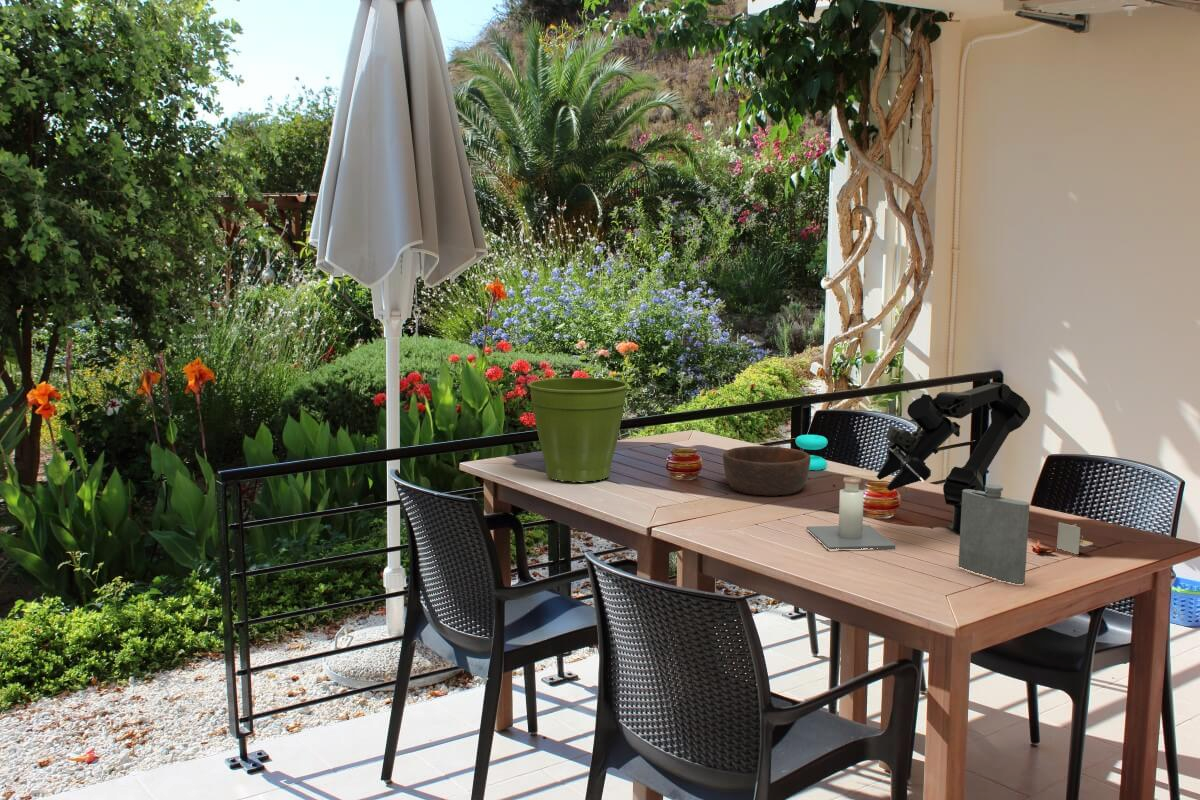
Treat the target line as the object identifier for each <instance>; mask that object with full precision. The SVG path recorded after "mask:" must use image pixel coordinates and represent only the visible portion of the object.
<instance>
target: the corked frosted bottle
mask: <svg viewBox="0 0 1200 800" xmlns="http://www.w3.org/2000/svg"><path fill="white" fill-rule="evenodd" d="M842 480H843V484H844V488H842V489H839V505H838V526H839V530H838V535H839V536H840V537H842V538H847V539H858V538H861V537H862V526H863V525H864V523H863V520H864V494H865V491H864V490H862V489H859V485H860V484H861V482H862V481H861V478H860V477H854V476H844V478H843V479H842Z"/></svg>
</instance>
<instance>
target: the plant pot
mask: <svg viewBox="0 0 1200 800" xmlns="http://www.w3.org/2000/svg"><path fill="white" fill-rule="evenodd" d="M628 386H629V384H628V382H625V381H622V380H618V379H610V378H599V377H558V378H547V379H546V378H545V379H544V378H543V379H539V380H533V381H530V382H528V387H529V388H530V395H531V396H530V397H531V403H532V409H533V415H534V420H535V426H536V431H537V436H538V439H539V440H538V441H539V445H540V449H541V453H542V457H543V460H544V464H545V470H546V471H545V472H546V476H547V478H549V477H550V478H549V479H551V478H553V479H557V480H563V481H574V482H573V483H576V482H579V481H594V482H597V481H596V480H600V481H603V480H606V479H607V478H608V477H609V476H610V474H611V465H612V461H613V458H614V454H615V450H616V448H617V443H618V439H619V434H620V430H621V429H620V428H621V424H622V418H623V412H624V405H625V404H626V393H627V388H628ZM605 478H606V479H605ZM553 479H552V480H553ZM602 479H603V480H602ZM557 480H556V481H557ZM563 481H562V482H563Z"/></svg>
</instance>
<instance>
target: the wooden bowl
mask: <svg viewBox="0 0 1200 800" xmlns="http://www.w3.org/2000/svg"><path fill="white" fill-rule="evenodd" d="M810 455H811V454H809V453H808V452H806V451H803V450H800V449H795V448H789V447H782V446H770V445H767V446H766V445H764V446H763V445H759V446H758V445H752V446H741V447H740V446H739V447H734V448H730V449H728V450H725V451H724V452H723V454H722V463H723V469H724V475H725V478H726V481H727V482H728V484H729V486H730V487H731V489H733V490H734V491H735V490H736V491H735V492H738V491H739V492H738V493H741V492H743V493H742V494H745V493H747V494H746V495H750V494H753V495H752V496H758V495H765V496H764V497H779V496H778V495H783V496H789V494H790V495H794V494H797V493H798V492H800V491H801V490H802V489H803V487H804V485H805V484H806V481H807V478H808V474H809V472H810V470H809V467H810V460H811V458H810Z"/></svg>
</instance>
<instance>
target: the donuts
mask: <svg viewBox="0 0 1200 800" xmlns="http://www.w3.org/2000/svg"><path fill="white" fill-rule="evenodd" d="M794 442H795V444H796V446H797V447H799V448H800V449H804V450H810V451H811V450H812V451H813V450H814V451H815V450H822V449H824V448H825V447H827V445H828V442H829V441H828V438H826V437H825V436H823V435H818V434H801V435H799V436H797V437H796V438H795V441H794ZM809 455H810V458H811V460H810V467H809V471H811V470H815V471H822V470H824V469H826V468H827V465H828V462H827V460H826V459H825V458H823V456H819V455H813V454H809ZM821 469H822V470H821Z"/></svg>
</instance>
